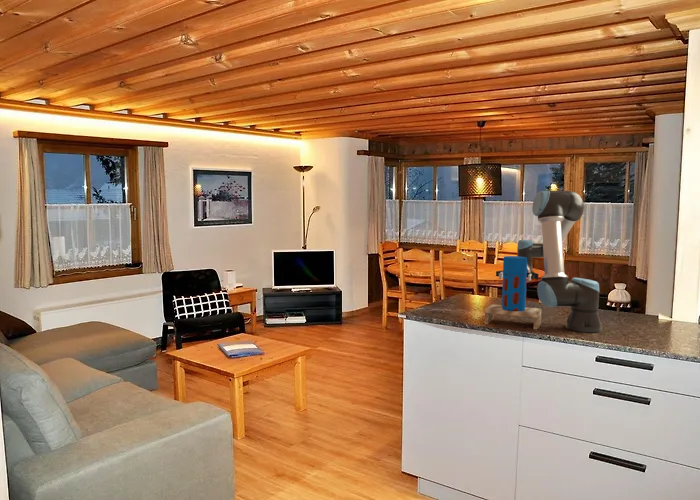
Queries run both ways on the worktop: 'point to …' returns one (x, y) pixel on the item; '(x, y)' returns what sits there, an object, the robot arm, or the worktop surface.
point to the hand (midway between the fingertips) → (514, 277)
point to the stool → (513, 313)
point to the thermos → (514, 283)
